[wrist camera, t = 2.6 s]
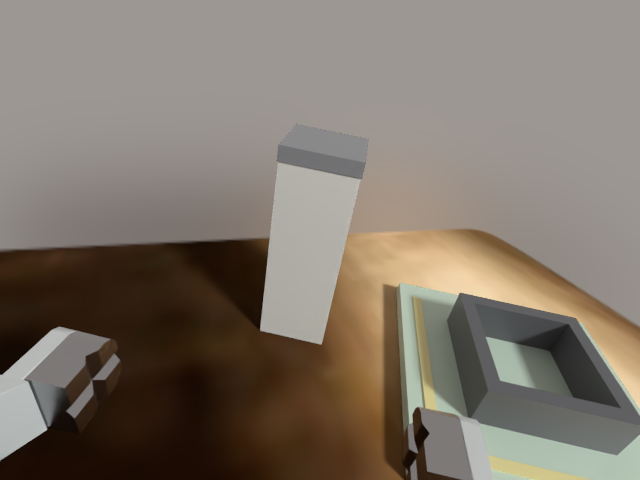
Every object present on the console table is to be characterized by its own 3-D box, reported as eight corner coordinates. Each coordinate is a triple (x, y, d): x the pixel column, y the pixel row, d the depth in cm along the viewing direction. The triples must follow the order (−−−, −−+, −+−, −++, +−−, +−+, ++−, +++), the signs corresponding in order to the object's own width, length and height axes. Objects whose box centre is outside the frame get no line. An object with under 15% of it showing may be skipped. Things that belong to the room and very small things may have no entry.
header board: (406, 481, 17) (430, 438, 15) (396, 292, 29) (409, 256, 27) (715, 556, 16) (778, 521, 15) (575, 332, 28) (600, 297, 27)
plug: (258, 330, 23) (278, 144, 17) (276, 286, 27) (298, 121, 21) (322, 345, 23) (365, 162, 17) (331, 298, 27) (368, 136, 21)
